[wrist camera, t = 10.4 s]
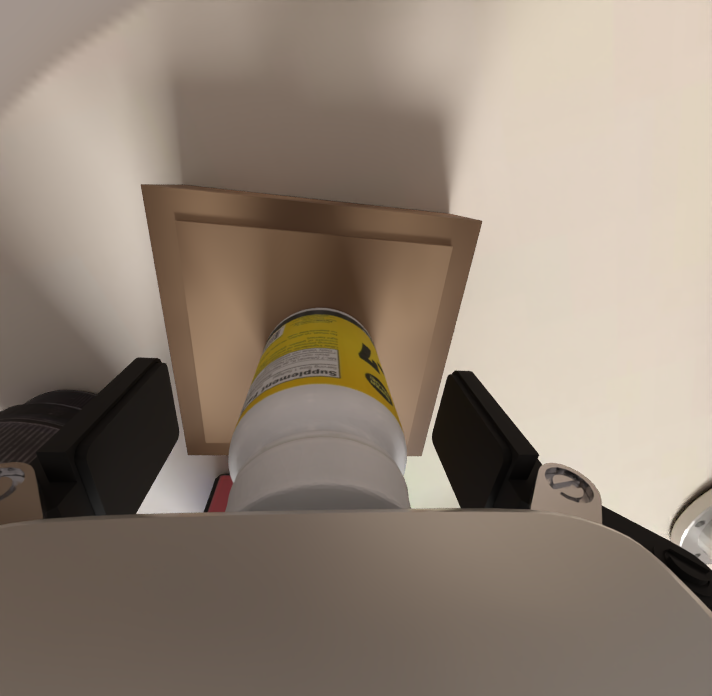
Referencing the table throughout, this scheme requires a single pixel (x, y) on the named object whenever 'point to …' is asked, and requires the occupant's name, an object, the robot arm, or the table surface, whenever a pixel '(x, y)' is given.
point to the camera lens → (37, 423)
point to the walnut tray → (301, 292)
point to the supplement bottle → (318, 423)
